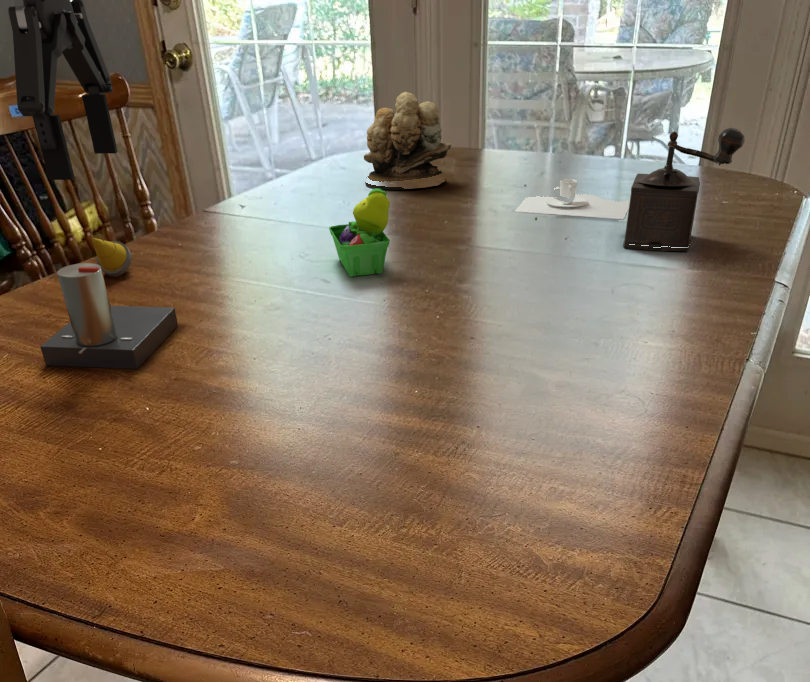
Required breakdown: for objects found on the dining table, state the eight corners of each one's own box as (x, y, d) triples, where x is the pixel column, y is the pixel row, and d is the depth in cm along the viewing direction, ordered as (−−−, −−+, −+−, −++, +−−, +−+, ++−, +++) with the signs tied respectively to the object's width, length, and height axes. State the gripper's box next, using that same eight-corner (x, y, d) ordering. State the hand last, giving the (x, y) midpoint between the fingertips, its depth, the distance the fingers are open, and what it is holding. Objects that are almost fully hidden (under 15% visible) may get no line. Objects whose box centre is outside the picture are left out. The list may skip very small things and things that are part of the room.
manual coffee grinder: (621, 249, 134) (637, 127, 123) (627, 230, 142) (643, 114, 132) (721, 257, 130) (747, 131, 119) (722, 236, 138) (746, 117, 128)
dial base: (39, 371, 101) (33, 350, 100) (94, 322, 114) (89, 303, 112) (132, 374, 100) (127, 354, 98) (178, 325, 112) (174, 306, 111)
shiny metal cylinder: (68, 345, 101) (48, 273, 96) (86, 329, 105) (68, 260, 100) (107, 347, 100) (89, 274, 95) (124, 330, 104) (107, 261, 99)
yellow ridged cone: (145, 272, 132) (114, 243, 122) (117, 290, 132) (84, 261, 122) (131, 246, 132) (99, 214, 123) (103, 263, 133) (69, 233, 123)
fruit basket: (329, 257, 134) (324, 184, 127) (383, 252, 136) (380, 179, 129) (343, 280, 125) (338, 202, 118) (399, 274, 127) (398, 197, 120)
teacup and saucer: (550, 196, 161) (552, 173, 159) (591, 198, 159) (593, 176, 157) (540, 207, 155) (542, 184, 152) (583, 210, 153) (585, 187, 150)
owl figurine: (449, 175, 177) (450, 85, 166) (452, 189, 167) (453, 94, 157) (365, 177, 177) (361, 87, 167) (363, 191, 167) (358, 97, 157)
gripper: (13, -52, 76) (73, 191, 89) (112, -56, 96) (149, 143, 109) (-64, -50, 77) (6, 192, 89) (50, -55, 97) (94, 143, 109)
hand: (85, 165), depth 99 cm, fingers open, 13 cm apart
